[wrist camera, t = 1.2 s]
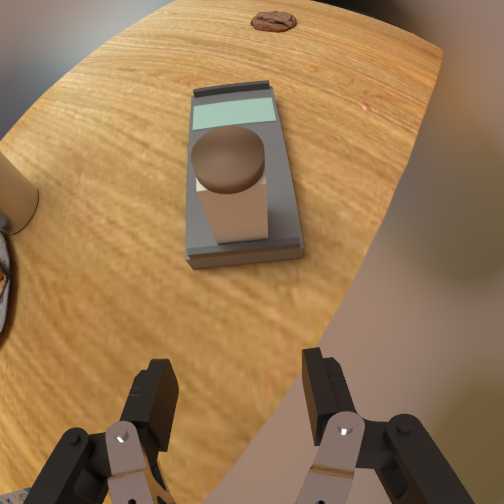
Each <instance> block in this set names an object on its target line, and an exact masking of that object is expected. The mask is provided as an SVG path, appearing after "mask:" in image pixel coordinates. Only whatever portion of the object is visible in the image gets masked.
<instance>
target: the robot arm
mask: <svg viewBox="0 0 504 504" xmlns="http://www.w3.org/2000/svg"><path fill="white" fill-rule="evenodd" d="M37 202H38V191H37V189H36V187H35V186H34V185H33V184H32V183H30V182H29V181H28V180H27V179H26V178H25V177H24V176H23V174H22V173H21V172H20V171H19V170H18V169H17V168H16V167H15V166H14V165H13V164H12V163H11V162H10V161H9V160H8V159H7V158H6V157H5V156H4V155H3V154H2V153H1V152H0V228H1V229H2V230H4V231H5V232H6V233H9V234H14V233H16V232H18V231H20V230H21V229H22V228H23V227H24V226H25V225H26V224H27V223H28V222H29V220H30V219H31V217H32V215H33V213H34V211H35V209H36V206H37ZM302 380H303V388H304V393H305V398H306V402H307V408H308V414H309V419H310V424H311V430H312V435H313V440H314V445H315V446H320V447H319V450H318V452H317V455H316V458H315V460H314V463H313V465H312V467H311V468H310V470H309V472H308V474H307V477H306V479H305V481H304V484H303V486H302V489H301V491H300V494H299V496H298V498H297V500H296V503H295V504H345V503H346V499H347V496H348V493H349V490H350V487H351V483H352V480H353V476H354V469H355V468H368V469H369V468H370V469H374V470H375V472H376V474H377V475H378V477H379V479H380V481H381V483H382V485H383V487H384V489H385V491H386V493H387V495H388V497H389V498H390V501H391V503H392V504H475V503H474V502H473V500H472V499H471V497H470V495H469V494H468V492H467V491H466V489H465V488H464V486H463V485H462V483H461V482H460V480H459V478H458V477H457V475H456V474H455V472H454V471H453V469H452V468H451V466H450V465H449V463H448V462H447V460H446V459H445V457H444V456H443V454H442V453H441V451H440V450H439V448H438V447H437V445H436V444H435V443H434V441H433V440H432V438H431V437H430V435H429V434H428V432H427V431H426V430H425V428H424V427H423V425H422V424H421V422H420V421H419V420H418V419H417V418H416V417H415V416H413V415H409V414H399V415H396V416H394V417H393V418H391V420H390V421H389V422H376V421H369V420H366V419H364V418H362V417H361V416H360V415H359V414H358V413H357V412H356V410H355V407H354V404H353V401H352V398H351V395H350V392H349V389H348V386H347V383H346V380H345V378H344V376H343V372H342V369H341V366H340V364H339V363H338V362H337V361H336V360H335V359H334V358H333V357H331V358H323V357H322V354H321V350H320V348H319V347H317V348H310V349H302ZM178 394H179V387H178V382H177V379H176V376H175V374H174V371H173V368H172V366H171V363H170V361H169V359H152V360H151V361H150V364H149V367H148V369H147V370H141V371H140V373H139V374H138V375H137V376H136V377H135V379H134V381H133V384H132V388H131V390H130V392H129V395H128V398H127V401H126V404H125V406H124V409H123V412H122V415H121V418H120V421H119V422H116V423H114V424H112V425H111V426H110V427H109V428H108V429H107V431H106V432H104V433H98V434H91V435H88V434H87V432H86V431H85V430H84V429H82V428H71V429H69V430H67V431H66V432H65V433H64V434H63V436H62V437H61V439H60V441H59V442H58V444H57V445H56V447H55V449H54V450H53V452H52V454H51V455H50V457H49V459H48V460H47V462H46V464H45V465H44V467H43V469H42V470H41V472H40V474H39V476H38V477H37V479H36V481H35V483H34V484H33V486H32V488H31V490H30V491H29V493H28V495H27V497H26V499H25V500H24V502H23V504H102V503H103V501H104V499H105V497H106V495H107V492H108V490H109V491H110V496H111V500H112V504H176V502H175V501H174V499H173V498H172V496H171V494H170V491H169V489H168V486H167V483H166V480H165V478H164V475H163V472H162V469H161V466H160V463H159V460H158V459H157V457H158V452H159V451H162V452H167V449H168V444H169V439H170V433H171V428H172V423H173V418H174V413H175V408H176V404H177V399H178Z"/></svg>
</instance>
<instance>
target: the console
mask: <svg viewBox="0 0 504 504" xmlns="http://www.w3.org/2000/svg"><path fill="white" fill-rule="evenodd" d="M193 93H194V96H192V100H191V113H190V127H189V143H188V163H187V190H186V261H187V262H188V264H189V265H190V266H191V268H192V269H199V268H210V267H220V266H230V265H240V264H250V263H260V262H270V261H280V260H290V259H299V258H302V254H303V250H304V244H303V238H302V232H301V226H300V220H299V215H298V209H297V203H296V198H295V192H294V187H293V182H292V177H291V171H290V166H289V161H288V156H287V151H286V146H285V142H284V137H283V132H282V127H281V123H280V118H279V114H278V109H277V105H276V100H275V96H274V92H273V88H272V86H270V87H269V81H256V82H245V83H235V84H227V85H219V86H212V87H205V88H199V89H194V90H193ZM224 126H239V127H244V128H247V129H249V130H251V131H253V132H255V133H256V134H257V135H258V136H259V137H260V138H261V140H262V142H263V144H264V151H265V176H266V183H267V216H268V240H263V241H253V242H244V243H234V244H224V245H218V244H217V241H216V239H215V237H214V234H213V232H212V229H211V227H210V224H209V222H208V219H207V217H206V214H205V212H204V209H203V207H202V204H201V202H200V199H199V197H198V194H197V192H196V178H197V177H196V174H195V171H194V169H193V166H192V163H191V151H192V148H193V146H194V145H195V143H196V142H197V141H198V139H199V138H200V137H202V136H203V135H204V134H206V133H207V132H209V131H211V130H213V129H216V128H219V127H224Z"/></svg>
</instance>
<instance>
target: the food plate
mask: <svg viewBox="0 0 504 504" xmlns="http://www.w3.org/2000/svg"><path fill="white" fill-rule="evenodd" d="M10 260H11V259H10V256H9V250H8V247H7V243H6V240H5V236H4V234H3V233H2V231H1V230H0V333H1V331H2V328H3V326H4V324H5V321H6V317H7V314H8V306H9V296H10V290H11V289H10V287H11V282H12V278H11V261H10Z"/></svg>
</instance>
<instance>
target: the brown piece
mask: <svg viewBox="0 0 504 504" xmlns="http://www.w3.org/2000/svg"><path fill="white" fill-rule="evenodd" d="M191 163H192V166H193V169H194V171H195V174H196V177H197V178H196V192H197V194H198V197H199V199H200V202H201V204H202V207H203V209H204V212H205V214H206V217H207V219H208V222H209V224H210V227H211V229H212V232H213V234H214V237H215V239H216V241H217V244H218V245H224V244H234V243H244V242H253V241H263V240H268V216H267V183H266V176H265V151H264V144H263V142H262V140H261V138H260V137H259V136H258V135H257V134H256V133H255V132H253V131H251V130H249V129H247V128H244V127H239V126H224V127H219V128H216V129H213V130H211V131H209V132H207V133H206V134H204V135H203V136H202V137H200V138H199V139H198V141H197V142H196V143H195V145H194V146H193V148H192V151H191Z"/></svg>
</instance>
